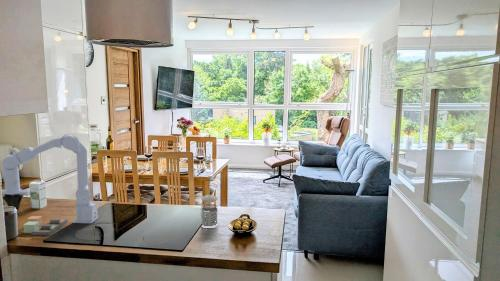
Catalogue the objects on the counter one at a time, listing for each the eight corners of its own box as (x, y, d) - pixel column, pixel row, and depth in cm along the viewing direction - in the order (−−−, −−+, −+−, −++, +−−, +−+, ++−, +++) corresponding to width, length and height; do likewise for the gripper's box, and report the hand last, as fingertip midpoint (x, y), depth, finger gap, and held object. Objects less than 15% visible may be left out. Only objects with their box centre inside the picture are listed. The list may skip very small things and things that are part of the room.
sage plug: (40, 229, 165) (39, 221, 164) (34, 233, 161) (34, 224, 160) (29, 229, 165) (28, 221, 164) (23, 233, 161) (23, 224, 160)
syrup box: (47, 205, 198) (45, 180, 195) (40, 209, 192) (38, 183, 190) (37, 205, 198) (36, 180, 196) (30, 208, 192) (28, 182, 190)
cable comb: (67, 222, 174) (67, 217, 174) (49, 235, 158) (49, 230, 158) (51, 222, 174) (51, 217, 174) (31, 234, 159) (31, 229, 158)
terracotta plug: (42, 223, 172) (42, 216, 171) (37, 227, 168) (37, 219, 167) (32, 223, 172) (32, 215, 171) (27, 226, 168) (26, 218, 167)
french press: (223, 223, 176) (223, 175, 173) (210, 231, 166) (211, 180, 162) (206, 220, 181) (206, 172, 177) (193, 228, 170) (193, 177, 166)
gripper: (33, 179, 163) (35, 207, 165) (2, 178, 163) (4, 206, 165) (23, 183, 156) (25, 212, 158) (-9, 182, 156) (-7, 212, 158)
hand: (14, 210), depth 161 cm, fingers closed
